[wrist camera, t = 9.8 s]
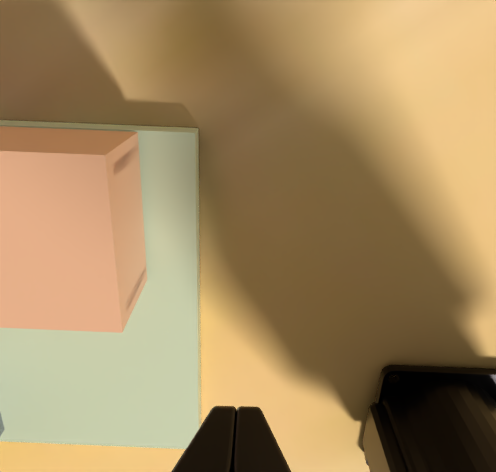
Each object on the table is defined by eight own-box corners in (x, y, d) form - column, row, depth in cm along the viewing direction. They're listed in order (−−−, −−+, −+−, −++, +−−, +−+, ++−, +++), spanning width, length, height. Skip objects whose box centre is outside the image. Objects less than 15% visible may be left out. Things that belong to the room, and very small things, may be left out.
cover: (137, 132, 15) (105, 155, 12) (147, 279, 18) (122, 332, 14) (-87, 122, 15) (-182, 143, 12) (-47, 271, 18) (-117, 322, 14)
